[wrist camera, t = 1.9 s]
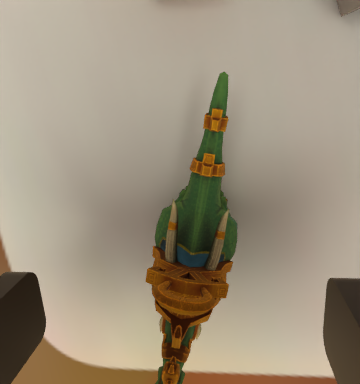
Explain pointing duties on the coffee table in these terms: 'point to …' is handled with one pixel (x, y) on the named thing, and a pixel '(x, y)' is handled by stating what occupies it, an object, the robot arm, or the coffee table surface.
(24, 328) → the robot arm
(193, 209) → the figurine
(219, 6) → the coffee table surface
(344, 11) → the slate-grey brick
